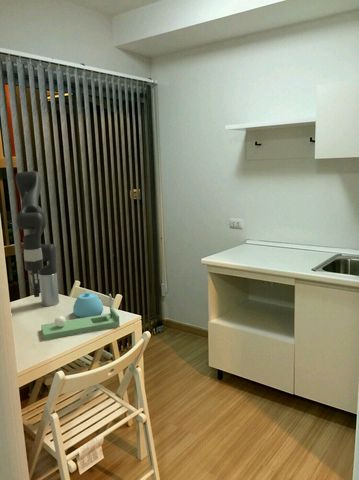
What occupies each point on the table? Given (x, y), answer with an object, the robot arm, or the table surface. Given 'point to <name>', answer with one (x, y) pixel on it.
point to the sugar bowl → (87, 305)
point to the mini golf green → (81, 325)
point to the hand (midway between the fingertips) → (36, 296)
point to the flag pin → (110, 305)
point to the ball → (60, 321)
